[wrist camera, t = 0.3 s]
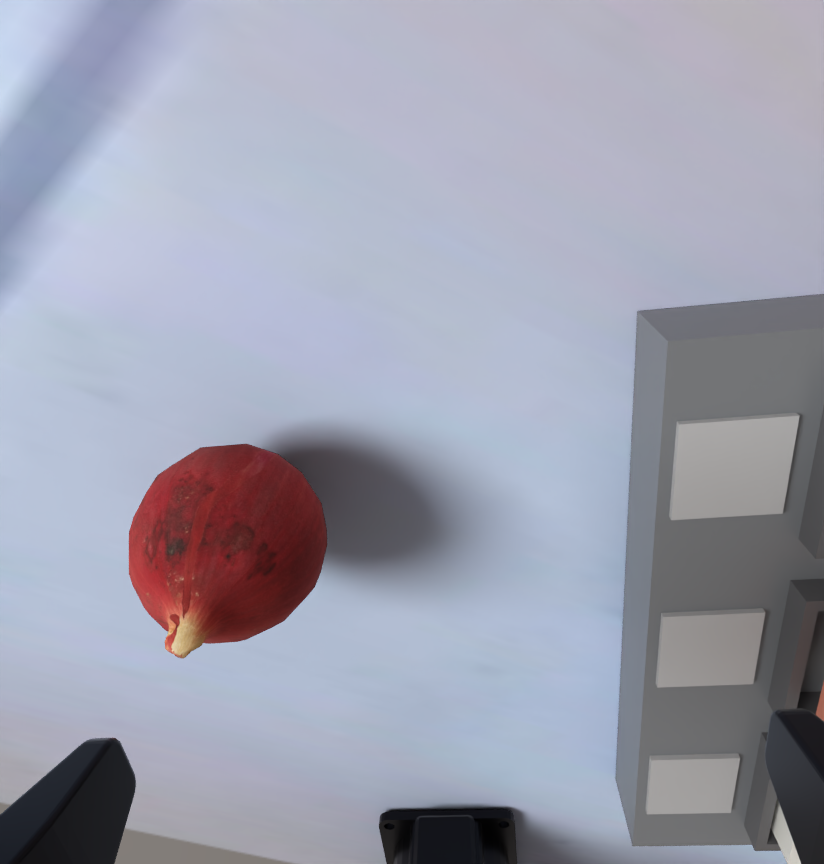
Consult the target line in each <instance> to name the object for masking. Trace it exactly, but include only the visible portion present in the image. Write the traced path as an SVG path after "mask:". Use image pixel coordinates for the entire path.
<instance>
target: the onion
mask: <svg viewBox="0 0 824 864" xmlns="http://www.w3.org/2000/svg"><path fill="white" fill-rule="evenodd" d="M326 547H327V529H326V524H325V519H324V514H323V509H322V504H321V502H320V500H319V499H318V497H317V496H316V494H315V493H314V491H313V489H312V488H311V486H310V485H309V483H308V482H307V480H306V478H305V477H304V475H303V474H302V472H300V471H299V470H298V469H297V468H295V467H294V466H293V465H291V464H290V463H289V462H287V461H286V460H285V459H283V458H282V457H281V456H279V455H278V454H276V453H273V452H270V451H267V450H264V449H261V448H258V447H255V446H252V445H249V444H238V445H226V446H214V447H202V448H199V449H198V450H196V451H194V452H193V453H191V454H190V455H188V456H186V457H185V458H183V459H182V460H180V461H178V462H177V463H175V464H173V465H172V466H171V467H169V468H168V469H166V470H165V471H163V472H162V473H160V474H159V475H157V477H156V478H155V480H154V482H153V483H152V485H151V486H150V488H149V489H148V491H147V493H146V494H145V496H144V498H143V500H142V502H141V504H140V506H139V508H138V510H137V512H136V514H135V515H134V518H133V521H132V525H131V528H130V531H129V575H130V578H131V581H132V584H133V587H134V589H135V590H136V592H137V594H138V596H139V598H140V600H141V602H142V604H143V606H144V608H145V609H146V611H147V612H148V613H149V615H150V616H151V617H153V618H154V619H155V620H156V621H157V622H158V623H159V624H160V625H161V626H162V627H163V628H164V629H165V630H166V631H168V635H167V637H166V640H165V649H166V650H167V651H169V652H171V653H172V654H174V655H175V656H177V657H179V658H185V657H186V656H187V655H188V654H189V653H190V652H191V651H193V650H194V649H196V648H198V647H200V646H201V645H202V643H224V642H238V641H242V640H246V639H248V638H250V637H252V636H255V635H257V634H259V633H261V632H263V631H265V630H267V629H270V628H272V627H274V626H275V625H277V624H279V623H281V622H283V621H284V620H285V619H286V618H287V617H288V616H289V615H290V614H291V613H292V612H293V611H294V610H295V609H296V607H297V606H298V605H299V604H300V603H301V602H302V601H303V600H304V599H305V598H306V597H307V595H308V594H309V593H310V592H311V591H312V590H313V588H314V587H315V585H316V582H317V580H318V578H319V575H320V573H321V569H322V564H323V560H324V556H325V551H326Z"/></svg>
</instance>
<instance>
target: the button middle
mask: <svg viewBox="0 0 824 864" xmlns="http://www.w3.org/2000/svg"><path fill="white" fill-rule="evenodd" d="M816 715H817V716H818V717H819V718H820V719H822V720H823V721H824V682H823V686H822V690H821V694H820V699H819V703H818V707H817V711H816Z"/></svg>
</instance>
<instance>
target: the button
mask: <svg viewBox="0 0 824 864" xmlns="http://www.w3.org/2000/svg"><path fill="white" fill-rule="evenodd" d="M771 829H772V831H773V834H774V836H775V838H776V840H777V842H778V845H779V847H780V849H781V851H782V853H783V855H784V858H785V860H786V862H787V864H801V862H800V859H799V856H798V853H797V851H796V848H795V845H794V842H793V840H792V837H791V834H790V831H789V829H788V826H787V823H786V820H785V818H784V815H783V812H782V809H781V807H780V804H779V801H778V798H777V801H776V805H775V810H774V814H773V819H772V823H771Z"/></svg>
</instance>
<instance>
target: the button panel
mask: <svg viewBox="0 0 824 864" xmlns="http://www.w3.org/2000/svg"><path fill="white" fill-rule="evenodd" d="M823 682H824V294H820V295H809V296H798V297H787V298H776V299H765V300H754V301H743V302H732V303H721V304H710V305H699V306H688V307H677V308H666V309H655V310H644V311H637V332H636V353H635V375H634V396H633V417H632V439H631V460H630V481H629V503H628V524H627V545H626V567H625V588H624V609H623V631H622V652H621V673H620V695H619V716H618V737H617V759H616V783H617V787H618V791H619V795H620V798H621V802H622V806H623V810H624V814H625V818H626V822H627V826H628V830H629V834H630V838H631V842H632V846H688V845H752V846H753V848H754V850H755V851H781V849H780V847H779V845H778V842H777V840H776V838H775V836H774V834H773V831H772V829H771V823H772V819H773V814H774V810H775V805H776V801H777V796H776V793H775V790H774V787H773V785H772V782H771V779H770V776H769V774H768V771H767V767H766V762H765V747H766V741H767V734H768V728H769V722H770V717H771V714H772V713H773V711H775V710H777V709H795V708H802V709H807V710H809V711H811V712H812V713H814V714H815V715H816V711H817V707H818V703H819V699H820V694H821V690H822V686H823Z"/></svg>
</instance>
